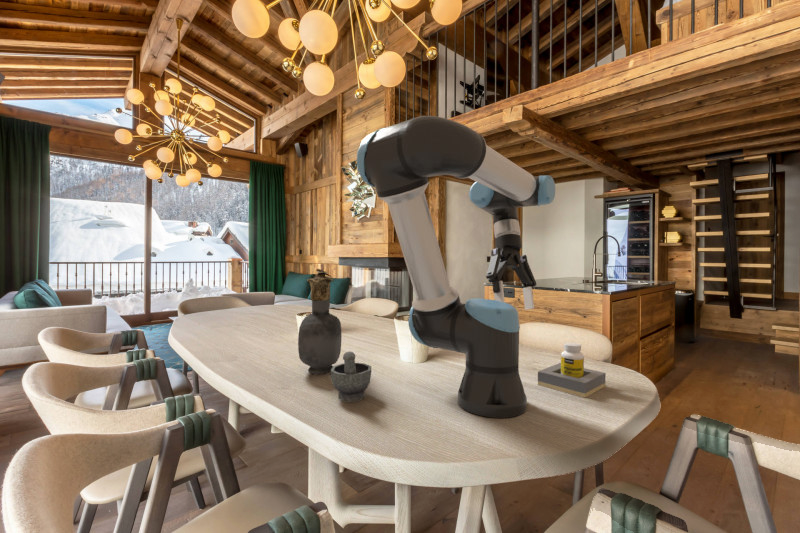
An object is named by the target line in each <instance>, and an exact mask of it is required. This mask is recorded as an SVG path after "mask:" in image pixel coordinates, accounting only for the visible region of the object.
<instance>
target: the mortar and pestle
mask: <svg viewBox="0 0 800 533" xmlns="http://www.w3.org/2000/svg"><path fill="white" fill-rule="evenodd" d="M342 360H343V361H344V362H343V363H340V364H336V365H334V366H333V367H332V369H331V372H330V381H331V384H332V385H333V387H334V389H335V390H336V391H338V400H340V401H341V402H346V401H347V403H351V402H352V403H354V402H359V401H361V400H364V398H365V390H366V389H367V388H368V386H369V384H370V383H371V377H372V366H371V365H369V364H367V363H363V362H360V363H359V362H356V354H355V353H354V352H353V351H346V352H345V353H343V355H342ZM353 401H354V402H353Z"/></svg>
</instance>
